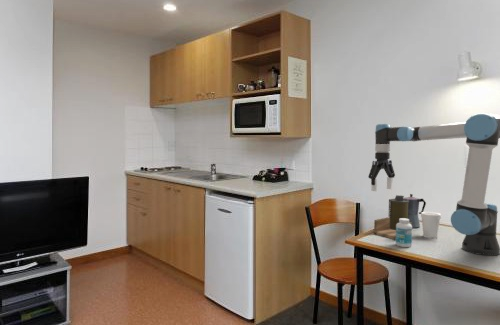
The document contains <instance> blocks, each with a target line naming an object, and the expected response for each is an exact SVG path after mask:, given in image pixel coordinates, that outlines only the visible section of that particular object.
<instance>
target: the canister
mask: <svg viewBox="0 0 500 325" xmlns="http://www.w3.org/2000/svg"><path fill="white" fill-rule="evenodd" d="M403 198H405V196H404V195H397V194H396V195H395V197H394V198H390V199H388V218H390V229H392V230H396V224H397V223H399V219H400V218H406V219H408V202H409V201H408V200H405V199H403Z"/></svg>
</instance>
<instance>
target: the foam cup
mask: <svg viewBox="0 0 500 325" xmlns="http://www.w3.org/2000/svg"><path fill="white" fill-rule="evenodd" d="M420 215H421V216H420V217H421V224H422V225H421V226H422V231H423V232H422V235H423V237H424V238H427V239H437V237H438V232H439V227H440V221H441V219H442V217H441V216H442V214H441V213H439V212H435V211H423V212H422V213H421V214H420Z"/></svg>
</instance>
